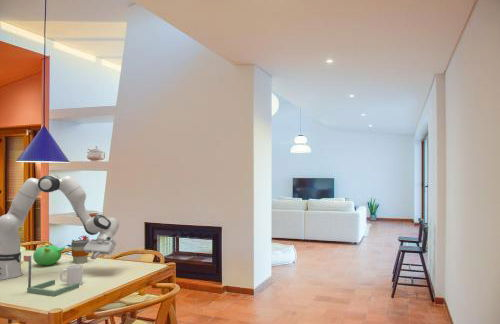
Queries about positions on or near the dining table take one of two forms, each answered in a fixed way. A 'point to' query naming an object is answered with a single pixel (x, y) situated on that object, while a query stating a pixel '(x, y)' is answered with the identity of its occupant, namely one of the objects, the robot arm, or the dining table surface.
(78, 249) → the reusable coffee cup
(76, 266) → the cup
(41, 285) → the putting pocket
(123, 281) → the dining table surface
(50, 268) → the dining table surface
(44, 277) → the dining table surface
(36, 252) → the green teapot
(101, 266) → the dining table surface
